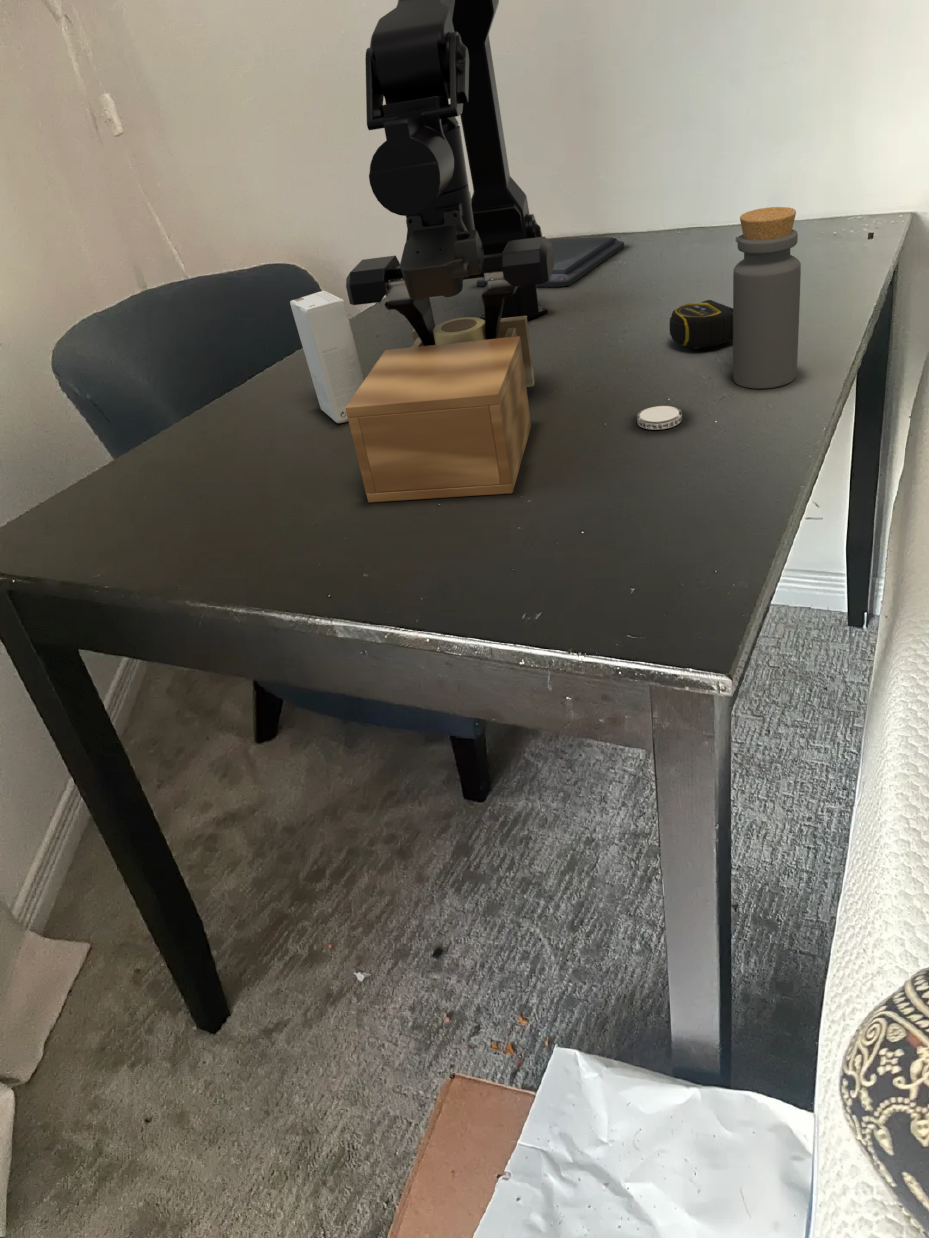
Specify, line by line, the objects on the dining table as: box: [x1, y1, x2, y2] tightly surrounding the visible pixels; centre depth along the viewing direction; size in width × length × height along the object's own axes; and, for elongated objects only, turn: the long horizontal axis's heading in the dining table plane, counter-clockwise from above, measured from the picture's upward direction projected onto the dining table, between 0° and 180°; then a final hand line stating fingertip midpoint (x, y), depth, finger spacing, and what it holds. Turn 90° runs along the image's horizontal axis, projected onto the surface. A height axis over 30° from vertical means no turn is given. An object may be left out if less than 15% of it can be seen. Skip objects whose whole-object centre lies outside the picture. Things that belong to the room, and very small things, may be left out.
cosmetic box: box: [289, 290, 365, 424], centre depth 98 cm, size 6×4×12 cm
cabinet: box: [345, 336, 532, 504], centre depth 83 cm, size 14×13×9 cm
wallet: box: [476, 236, 625, 288], centre depth 137 cm, size 20×2×15 cm
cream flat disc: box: [636, 405, 683, 431], centre depth 86 cm, size 4×4×1 cm
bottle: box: [732, 206, 802, 390], centre depth 86 cm, size 6×6×15 cm
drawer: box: [411, 316, 536, 388], centre depth 93 cm, size 16×12×7 cm
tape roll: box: [433, 316, 486, 345], centre depth 91 cm, size 5×5×5 cm
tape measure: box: [669, 299, 733, 350], centre depth 100 cm, size 7×7×4 cm
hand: (464, 361), depth 91 cm, fingers closed on tape roll, 5 cm apart
